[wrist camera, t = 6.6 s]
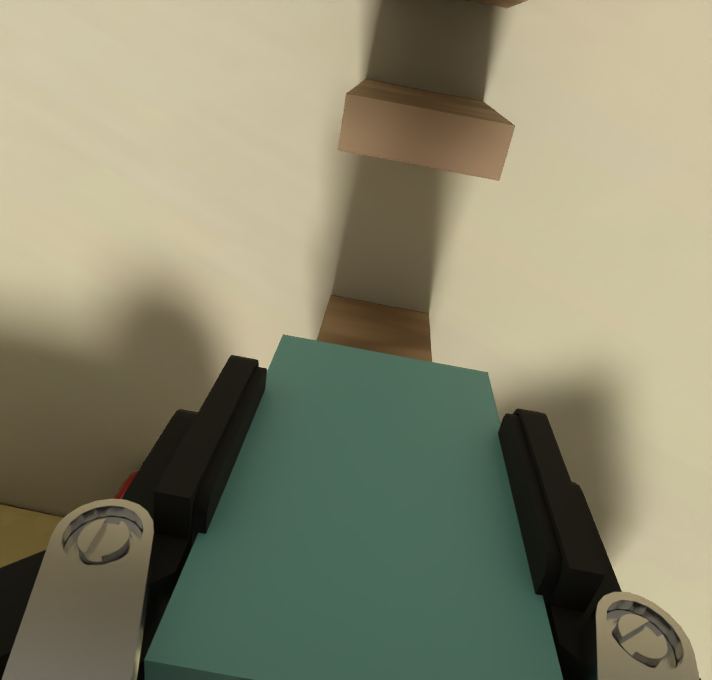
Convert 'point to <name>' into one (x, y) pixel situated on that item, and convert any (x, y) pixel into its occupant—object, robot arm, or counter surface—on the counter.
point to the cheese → (24, 533)
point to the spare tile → (361, 536)
